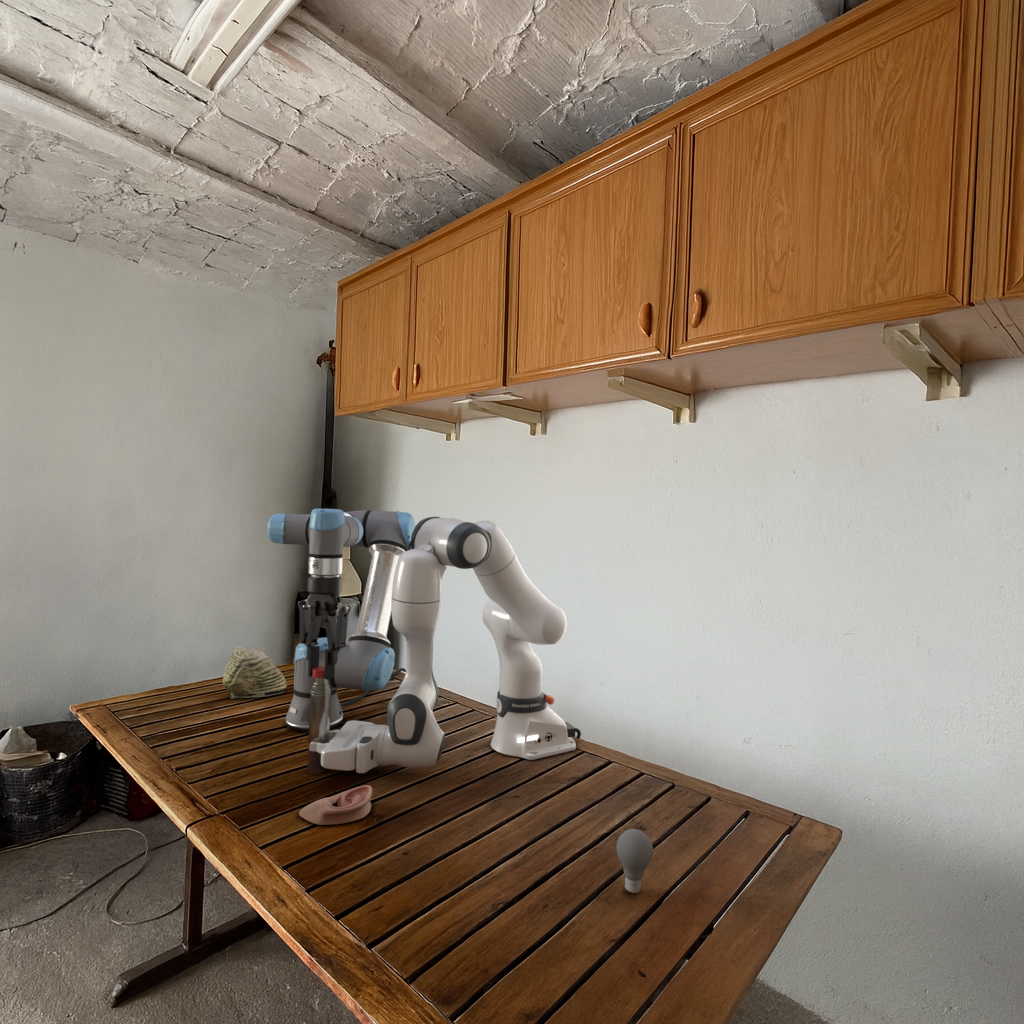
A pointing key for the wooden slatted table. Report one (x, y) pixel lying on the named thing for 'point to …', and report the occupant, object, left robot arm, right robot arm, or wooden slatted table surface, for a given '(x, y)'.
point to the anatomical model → (339, 807)
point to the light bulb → (634, 857)
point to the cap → (318, 672)
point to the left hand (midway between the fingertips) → (321, 676)
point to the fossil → (252, 674)
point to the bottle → (318, 722)
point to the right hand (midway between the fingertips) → (314, 740)
